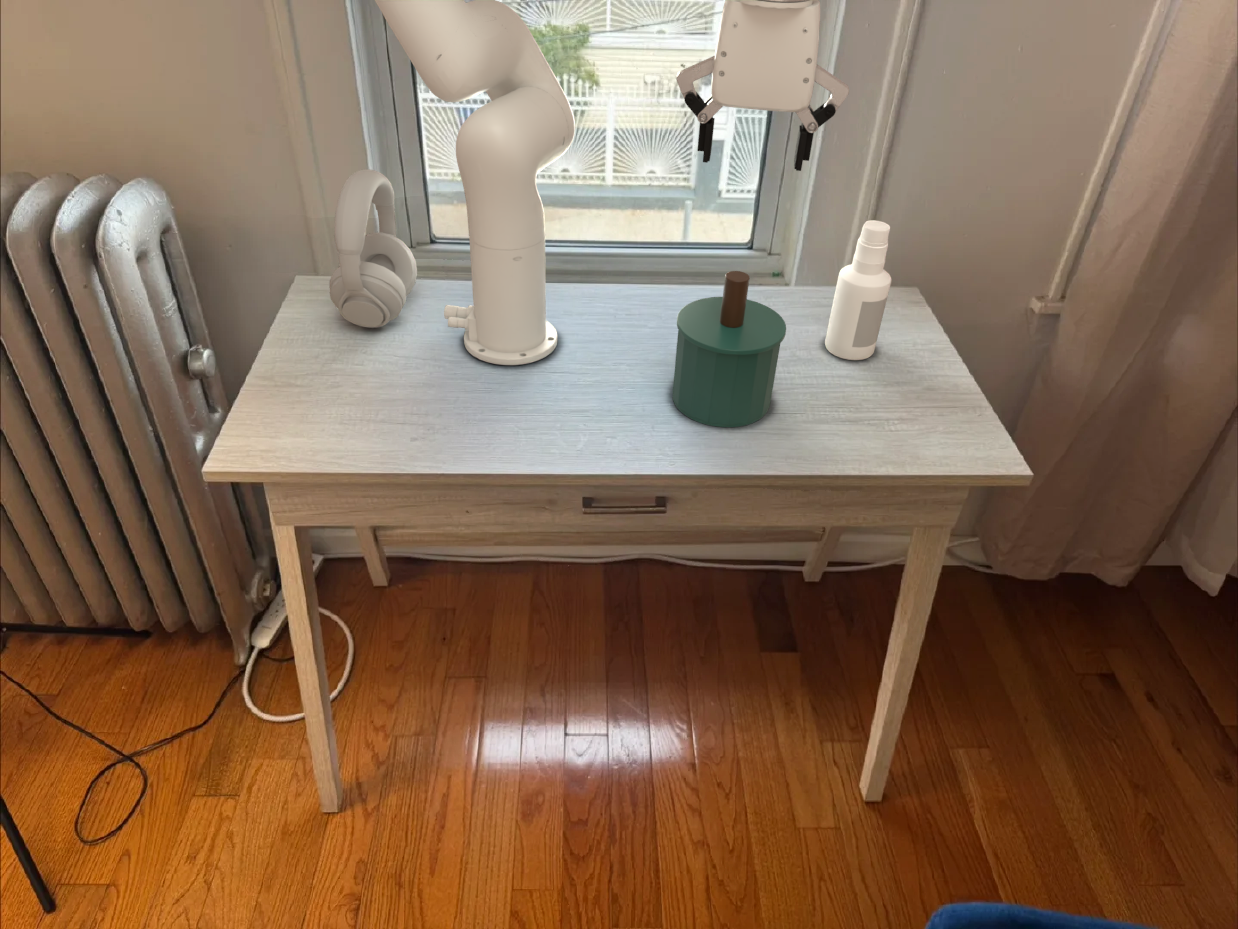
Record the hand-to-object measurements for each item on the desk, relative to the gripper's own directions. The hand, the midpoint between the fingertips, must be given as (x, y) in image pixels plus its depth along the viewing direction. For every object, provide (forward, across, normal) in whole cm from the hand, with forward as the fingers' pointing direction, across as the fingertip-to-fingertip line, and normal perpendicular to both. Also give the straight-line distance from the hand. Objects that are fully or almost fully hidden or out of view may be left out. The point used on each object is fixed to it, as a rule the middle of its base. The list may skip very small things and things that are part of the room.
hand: (751, 162), depth 98 cm
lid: (+20, 0, 0) cm, 20 cm away
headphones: (+31, +49, -12) cm, 59 cm away
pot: (+30, 0, 0) cm, 30 cm away
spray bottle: (+31, -17, -16) cm, 39 cm away
